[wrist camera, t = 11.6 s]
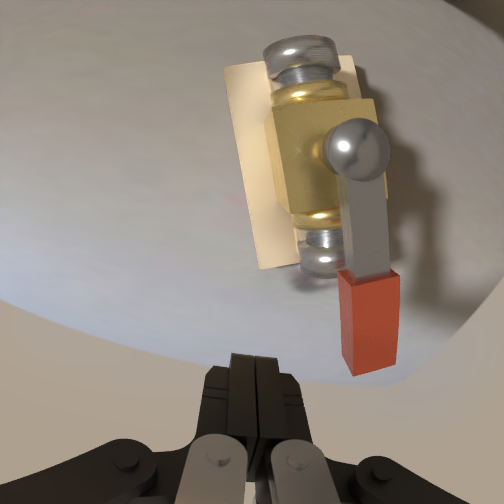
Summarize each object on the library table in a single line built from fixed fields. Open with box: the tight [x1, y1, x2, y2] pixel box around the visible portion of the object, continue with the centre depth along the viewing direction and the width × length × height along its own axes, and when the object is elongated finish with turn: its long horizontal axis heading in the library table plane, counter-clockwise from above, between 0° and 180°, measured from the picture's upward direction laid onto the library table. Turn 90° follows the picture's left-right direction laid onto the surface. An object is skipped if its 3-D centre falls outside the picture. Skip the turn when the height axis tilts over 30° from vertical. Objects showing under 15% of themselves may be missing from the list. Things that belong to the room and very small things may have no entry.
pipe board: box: [222, 56, 362, 270], centre depth 19 cm, size 9×14×4 cm, turn 10°
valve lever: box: [322, 118, 400, 376], centre depth 12 cm, size 11×2×2 cm, turn 10°
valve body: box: [263, 35, 388, 279], centre depth 15 cm, size 5×13×8 cm, turn 10°
